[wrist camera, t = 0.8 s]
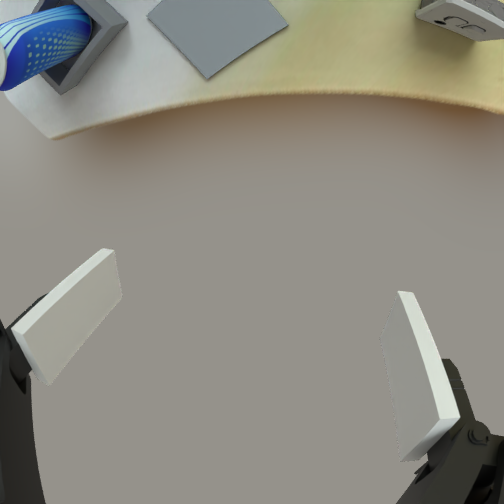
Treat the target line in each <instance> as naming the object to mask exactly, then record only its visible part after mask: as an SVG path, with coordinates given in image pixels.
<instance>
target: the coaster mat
mask: <svg viewBox="0 0 504 504" xmlns="http://www.w3.org/2000/svg"><path fill="white" fill-rule="evenodd" d="M147 17H148V18H149V19H150V20H151V21H152V22H153V23H154V24H155V25H156V26H157V27H158V28H159V29H160V30H161V31H162V32H163V33H164V34H165V35H166V36H167V37H168V38H169V39H170V40H171V41H172V42H173V43H174V44H175V45H176V47H177V48H178V49H179V50H180V51H181V52H182V53H183V54H184V55H185V56H186V57H187V58H188V59H189V60H190V61H191V62H192V63H193V64H194V66H195V67H196V68H197V69H198V70H199V71H200V72H201V73H202V74H203V75H204V76H205V78H206V79H208V78H209V77H211V76H212V75H213V74H215V73H216V72H217V71H219V70H220V69H221V68H223V67H224V66H226V65H227V64H228V63H230V62H231V61H233V60H234V59H236V58H237V57H238V56H240V55H241V54H243V53H244V52H246V51H247V50H249V49H250V48H252V47H253V46H255V45H257V44H258V43H260V42H261V41H263V40H264V39H266V38H268V37H269V36H271V35H272V34H274V33H276V32H277V31H279V30H281V29H283V28H284V27H286V26H288V24H287V22H286V21H285V20H284V19H283V17H282V16H281V15H280V14H279V13H278V11H277V10H276V9H275V8H274V7H273V5H272V4H271V3H270V2H269V1H268V0H163V1H162V2H160V3H159V4H158V5H157V6H156V7H155V8H154V9H153V10H152V11H151V12H150V13H149V14H148V15H147Z"/></svg>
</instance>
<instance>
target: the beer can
mask: <svg viewBox="0 0 504 504" xmlns="http://www.w3.org/2000/svg"><path fill="white" fill-rule="evenodd" d="M91 31H92V22H91V18H90V16H89V14H88V13H86V12H85V11H84V10H83V9H82V8H81V7H80V6H78V5H72V4H71V5H65V6H61V7H56V8H52V9H48V10H44V11H41V12H37V13H34V14H30V15H27V16H24V17H20V18H17V19H14V20H11V21H9V22H6V23H3V24H1V25H0V91H7V90H10V89H12V88H14V87H16V86H17V85H19V84H21V83H22V82H24V81H26V80H28V79H29V78H31V77H33V76H35V75H37V74H39V73H40V72H42V71H44V70H46V69H48V68H50V67H52V66H54V65H56V64H58V63H61V62H63V61H65V60H67V59H69V58H71V57H74V56H76V55H77V54H79V53H80V52H81V51H82V50H83V49H84V48H85V46H86V45H87V43H88V41H89V38H90V35H91Z"/></svg>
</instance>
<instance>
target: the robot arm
mask: <svg viewBox="0 0 504 504" xmlns="http://www.w3.org/2000/svg"><path fill="white" fill-rule="evenodd" d="M121 298H122V291H121V286H120V281H119V275H118V270H117V264H116V258H115V251H114V250H109V249H103V248H102V249H101V250H100V251H98V252H97V253H96V254H95V255H93V256H92V257H91V258H90V259H88V260H87V261H86V262H85V263H84V264H82V265H81V266H80V267H79V268H77V269H76V270H75V271H74V272H73V273H71V274H70V275H69V276H68V277H67V278H66V279H64V280H63V281H62V282H61V283H60V284H59V285H57V286H56V288H54V289H53V290H52V291H51V292H50V293H47V294H45V295H43V296H42V297H40V298H39V299H37V300H36V301H35V302H34V303H33V304H32V306H30V307H29V308H28V309H27V310H26V311H24V312H23V313H22V314H21V315H20V316H19V317H18V318H17V319H16V320H15V321H14V322H13V323H12V324H11V325H9V326H8V327H7V328H6V329H5V328H4V326H3V324H2V322H1V320H0V504H46V503H45V499H44V495H43V490H42V486H41V480H40V475H39V470H38V463H37V457H36V450H35V441H34V432H33V420H32V405H31V404H32V403H31V379H30V376H29V372H30V371H31V370H33V372H34V374H35V376H36V377H37V379H38V380H40V381H42V382H43V383H45V384H47V385H49V386H50V385H51V384H52V382H53V381H54V380H55V378H56V377H57V376H58V374H59V373H60V372H61V371H62V369H63V368H64V367H65V366H66V364H67V363H68V362H69V360H70V359H71V358H72V357H73V355H74V354H75V353H76V352H77V351H78V349H79V348H80V347H81V345H82V344H83V343H84V342H85V341H86V340H87V338H88V337H89V336H90V335H91V333H92V332H93V331H94V330H95V329H96V327H97V326H98V325H99V324H100V323H101V322H102V320H103V319H104V318H105V317H106V316H107V314H108V313H109V312H110V311H111V310H112V309H113V308H114V306H115V305H116V304H117V303H118V302H119V301H120V300H121ZM380 341H381V346H382V351H383V356H384V360H385V365H386V370H387V376H388V381H389V386H390V392H391V398H392V404H393V410H394V417H395V424H396V431H397V439H398V447H399V457H400V462H403V461H415V460H419V459H420V458H421V457H422V456H424V455H425V454H426V453H427V455H428V461H427V462H426V463H425V464H424V465H423V466H421V467H420V468H419V469H418V470H417V471H416V472H415V473H414V474H418V475H417V476H416V477H415V479H414V480H413V482H412V483H411V484H410V486H409V487H408V489H407V490H406V491H405V493H404V494H403V495H402V496H401V498H400V499H399V500H398V502H397V503H396V504H504V436H498V435H493V434H491V433H490V431H489V429H488V428H487V426H485V425H484V424H483V423H482V422H479V421H476V420H475V418H474V414H473V411H472V408H471V405H470V402H469V399H468V396H467V393H466V391H465V389H464V385H463V383H462V381H461V377H460V374H459V372H458V369H457V368H456V366H455V365H454V364H453V363H452V361H451V360H450V359H441V358H440V355H439V353H438V350H437V347H436V345H435V342H434V340H433V337H432V335H431V332H430V330H429V328H428V325H427V323H426V321H425V318H424V316H423V314H422V311H421V309H420V307H419V305H418V302H417V300H416V298H415V296H414V294H413V293H412V292H404V291H398V292H397V295H396V297H395V300H394V303H393V306H392V309H391V311H390V314H389V316H388V319H387V322H386V324H385V327H384V330H383V332H382V334H381V337H380Z"/></svg>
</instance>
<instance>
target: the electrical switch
mask: <svg viewBox="0 0 504 504" xmlns="http://www.w3.org/2000/svg"><path fill="white" fill-rule="evenodd" d="M476 4H477V5H478V6H477V5H476ZM421 6H422V9H417V10H415V14H416V17H417V18H418V19H421V20H424V21H427V22H429V23H432V24H435V25H438V26H441V27H443V28H446V29H448V30H451V31H453V32H456V33H458V34H461V35H463V36H465V37H468V38H470V39H472V40H475V41H487V40H497V39H504V4H503V3H501V2H500V1H498V0H422V4H421ZM488 6H489V7H488Z"/></svg>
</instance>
